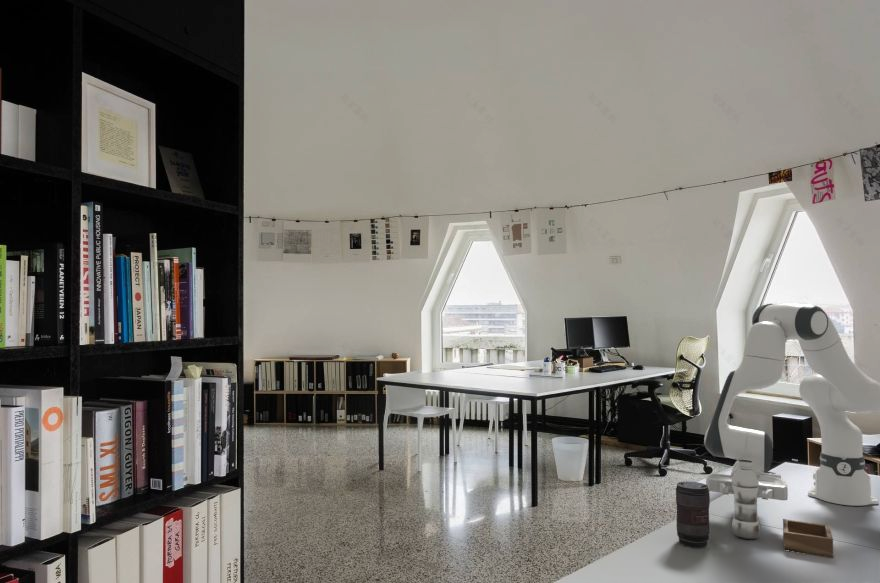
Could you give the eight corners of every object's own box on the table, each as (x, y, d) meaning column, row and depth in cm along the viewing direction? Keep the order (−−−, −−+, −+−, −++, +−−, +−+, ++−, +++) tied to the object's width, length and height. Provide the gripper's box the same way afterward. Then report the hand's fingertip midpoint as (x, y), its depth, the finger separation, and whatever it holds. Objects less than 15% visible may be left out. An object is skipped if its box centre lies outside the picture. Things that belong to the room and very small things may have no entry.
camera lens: (710, 540, 168) (709, 482, 168) (709, 551, 160) (709, 490, 160) (677, 535, 171) (677, 479, 171) (675, 546, 163) (674, 486, 164)
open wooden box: (783, 535, 171) (783, 518, 171) (829, 542, 166) (829, 525, 166) (784, 550, 161) (783, 532, 161) (833, 558, 156) (832, 539, 156)
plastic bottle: (763, 542, 166) (762, 464, 166) (735, 540, 167) (734, 463, 168) (756, 534, 172) (755, 459, 173) (729, 532, 174) (728, 457, 174)
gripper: (707, 466, 188) (702, 476, 176) (786, 474, 179) (788, 486, 166) (707, 487, 188) (702, 500, 176) (787, 497, 179) (788, 511, 166)
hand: (745, 493), depth 171 cm, fingers open, 8 cm apart
